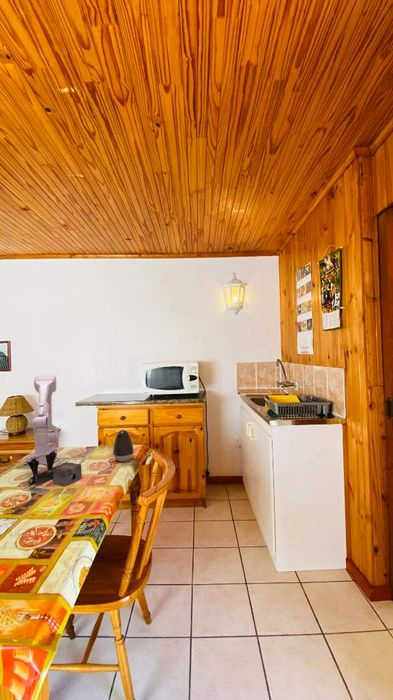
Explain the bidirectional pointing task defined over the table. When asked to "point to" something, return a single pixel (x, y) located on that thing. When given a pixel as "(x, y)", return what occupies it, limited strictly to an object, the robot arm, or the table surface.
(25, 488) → the gauge frame
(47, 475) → the gauge plunger
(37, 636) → the table surface
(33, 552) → the table surface
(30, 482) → the electric trimmer
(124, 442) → the black egg-shaped speaker
